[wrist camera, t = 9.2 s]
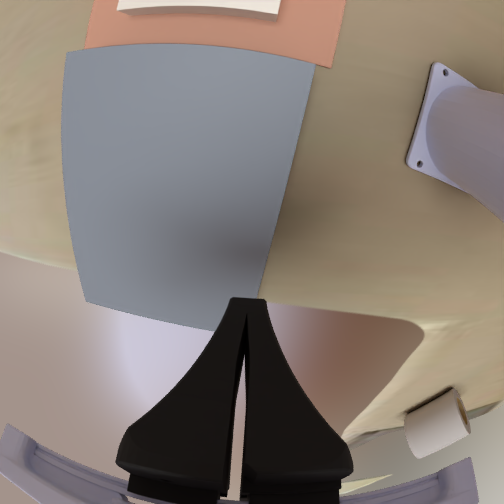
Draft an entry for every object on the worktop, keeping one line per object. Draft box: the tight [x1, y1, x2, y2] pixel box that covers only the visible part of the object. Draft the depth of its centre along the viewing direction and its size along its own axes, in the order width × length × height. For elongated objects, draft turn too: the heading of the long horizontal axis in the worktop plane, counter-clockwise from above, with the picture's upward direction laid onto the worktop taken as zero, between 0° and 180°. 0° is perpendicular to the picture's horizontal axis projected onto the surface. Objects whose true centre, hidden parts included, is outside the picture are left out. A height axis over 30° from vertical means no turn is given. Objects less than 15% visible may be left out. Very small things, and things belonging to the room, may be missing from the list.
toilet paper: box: [404, 388, 471, 458], centre depth 34 cm, size 10×10×10 cm
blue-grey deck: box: [61, 44, 316, 331], centre depth 16 cm, size 13×18×4 cm
